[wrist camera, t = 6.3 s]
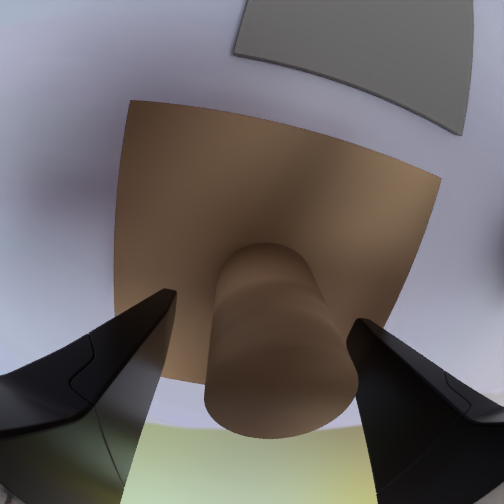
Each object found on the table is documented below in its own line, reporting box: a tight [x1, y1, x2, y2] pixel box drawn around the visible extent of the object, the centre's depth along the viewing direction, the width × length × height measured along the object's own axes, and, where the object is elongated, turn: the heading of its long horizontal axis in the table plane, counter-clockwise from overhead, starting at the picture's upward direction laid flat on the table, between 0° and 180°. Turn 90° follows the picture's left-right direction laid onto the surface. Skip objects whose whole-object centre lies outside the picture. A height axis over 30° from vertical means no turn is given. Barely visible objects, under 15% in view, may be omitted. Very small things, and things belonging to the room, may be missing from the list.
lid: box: [114, 100, 442, 439], centre depth 9 cm, size 11×11×6 cm
